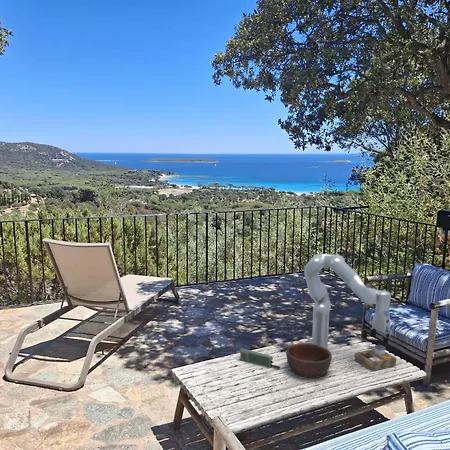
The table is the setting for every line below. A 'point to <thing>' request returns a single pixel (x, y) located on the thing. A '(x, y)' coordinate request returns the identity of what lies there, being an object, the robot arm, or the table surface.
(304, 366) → the wooden bowl
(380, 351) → the plug
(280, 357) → the table surface
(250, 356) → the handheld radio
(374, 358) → the socket block
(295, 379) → the table surface
